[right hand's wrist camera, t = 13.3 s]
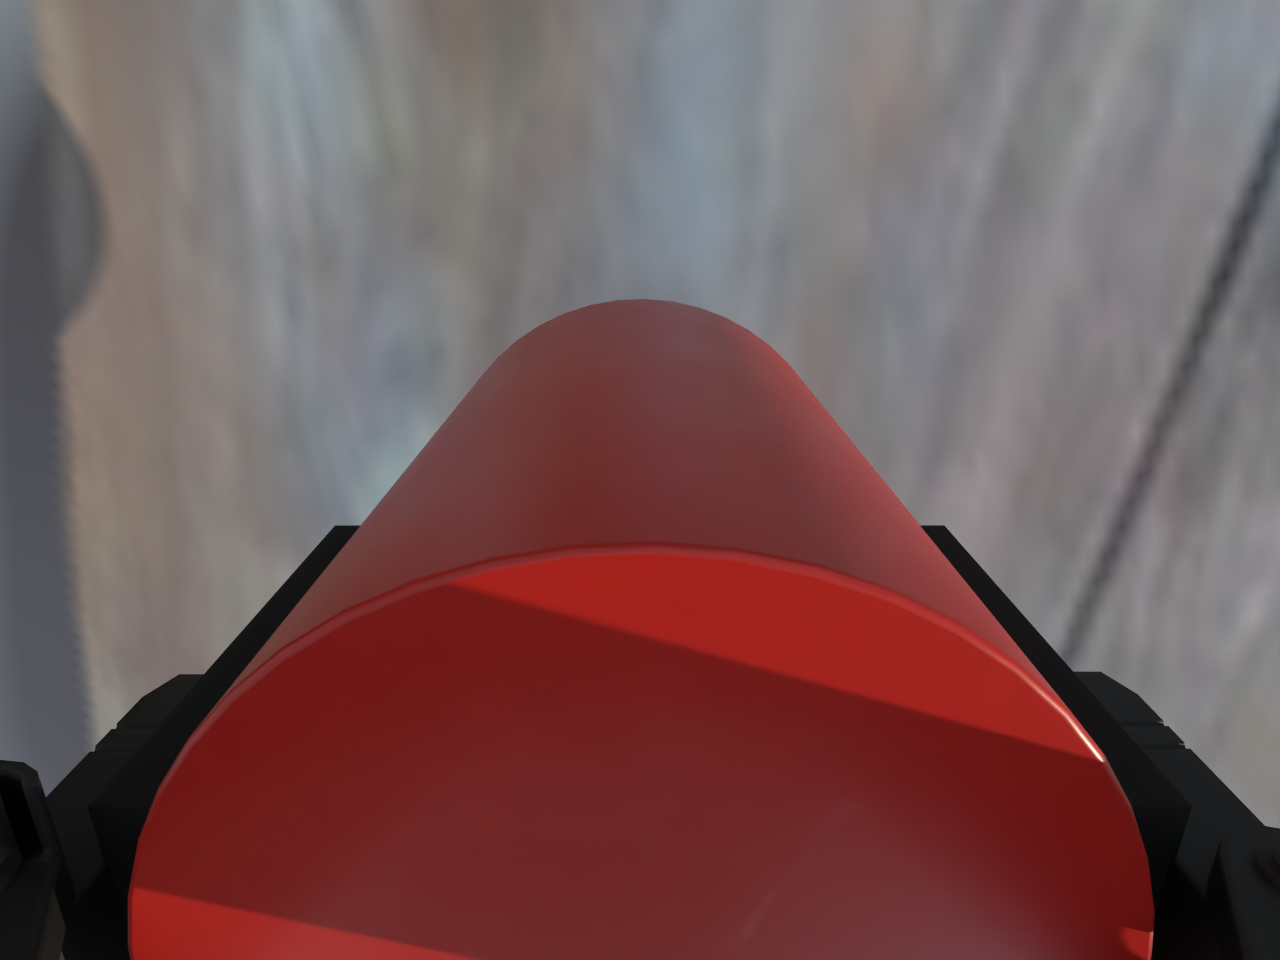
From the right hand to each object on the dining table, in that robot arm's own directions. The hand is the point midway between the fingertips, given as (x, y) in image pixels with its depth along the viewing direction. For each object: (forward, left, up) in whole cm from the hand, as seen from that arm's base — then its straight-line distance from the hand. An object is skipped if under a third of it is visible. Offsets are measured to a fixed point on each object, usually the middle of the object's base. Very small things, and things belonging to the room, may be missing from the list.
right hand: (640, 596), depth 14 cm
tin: (0, 0, -5) cm, 5 cm away
